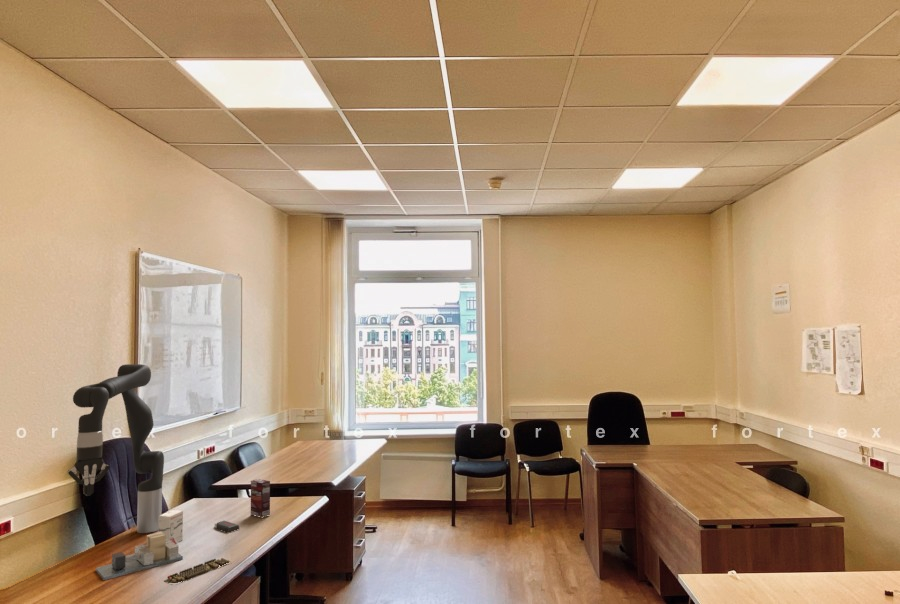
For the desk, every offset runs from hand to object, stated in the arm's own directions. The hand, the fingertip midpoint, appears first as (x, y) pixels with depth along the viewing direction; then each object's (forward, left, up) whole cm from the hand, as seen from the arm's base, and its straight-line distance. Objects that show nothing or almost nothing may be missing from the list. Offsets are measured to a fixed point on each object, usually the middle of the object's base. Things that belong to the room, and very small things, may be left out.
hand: (88, 495), depth 190 cm
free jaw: (+3, +13, -26) cm, 29 cm away
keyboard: (+25, +28, -28) cm, 47 cm away
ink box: (-13, +31, -27) cm, 43 cm away
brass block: (+3, +21, -26) cm, 34 cm away
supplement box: (-21, +72, -27) cm, 80 cm away
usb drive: (-14, +54, -28) cm, 62 cm away
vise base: (+3, +16, -27) cm, 32 cm away
